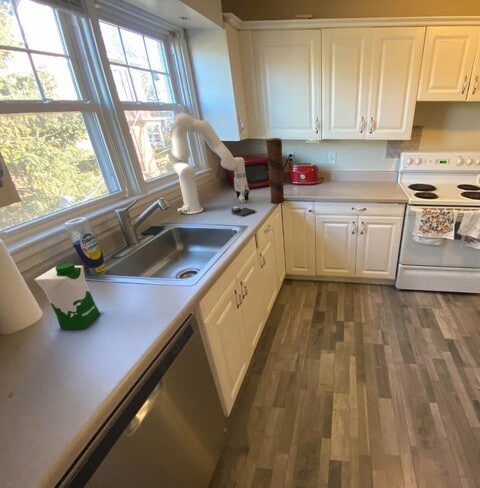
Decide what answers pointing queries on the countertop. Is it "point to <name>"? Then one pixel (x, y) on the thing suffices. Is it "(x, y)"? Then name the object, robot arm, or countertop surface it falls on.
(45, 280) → the milk carton
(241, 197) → the white rounded lump
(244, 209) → the scale
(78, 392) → the countertop surface
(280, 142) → the wafer roll
